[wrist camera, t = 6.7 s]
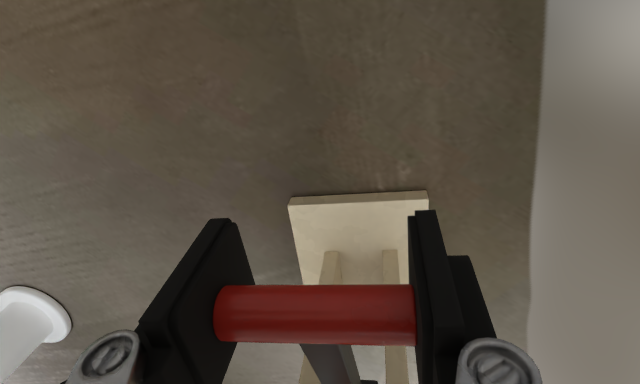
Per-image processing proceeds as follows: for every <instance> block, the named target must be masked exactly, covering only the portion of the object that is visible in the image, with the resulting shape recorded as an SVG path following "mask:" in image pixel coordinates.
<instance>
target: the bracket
mask: <svg viewBox="0 0 640 384" xmlns="http://www.w3.org/2000/svg"><path fill="white" fill-rule="evenodd" d="M415 210H429V199H428V195H427V191H426V190H422V191H403V192H384V193H364V194H345V195H326V196H307V197H291V199H290V201H289V204H288V211H289V216H290V221H291V226H292V231H293V236H294V241H295V245H296V250H297V255H298V260H299V265H300V270H301V275H302V280H303V284H304V285H327V284H409V271H408V222H407V217H408V216H415ZM385 364H386V384H409V378H408V367H407V355H406V346H385ZM299 384H321V382H320V381H319V379H318V377H317V375H316V373H315V372H314V370H313V368H312V366H311V364H310V363H309V361H308V359H307V357H306V355H305V354H304V359H303V364H302V369H301V374H300V379H299Z"/></svg>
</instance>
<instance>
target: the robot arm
mask: <svg viewBox="0 0 640 384" xmlns="http://www.w3.org/2000/svg"><path fill="white" fill-rule="evenodd" d="M407 222H408V271H409V284H411V285H413V288H414V294H415V304H416V317H417V346H415V353H416V363H417V372H418V382H419V384H542V379H541V375H540V371H539V369H538V367H537V366H536V364H535V363H534V361H533V359H532V358H530V356H529V355H527V354H526V353H525V352H524V351H523V350H522V349H520V348H519V347H517V346H515V345H514V344H512V343H510V342H507V341H504V340H501V339H497V337H496V334H495V331H494V328H493V325H492V322H491V319H490V316H489V313H488V310H487V307H486V304H485V301H484V298H483V295H482V292H481V289H480V286H479V284H478V281H477V278H476V275H475V272H474V269H473V266H472V263H471V260H470V258H469V256H468V255H465V256H447V254H446V250H445V246H444V242H443V238H442V234H441V231H440V227H439V223H438V219H437V215H436V211H435V210H415V216H408V217H407ZM227 285H255V282H254V279H253V275H252V272H251V269H250V266H249V262H248V259H247V256H246V253H245V249H244V246H243V243H242V239H241V236H240V233H239V230H238V226H237V224H236V223H234V222H232V221H231V220H230V219H229V218H218V219H210V220H209V221H208V222H207V224H206V225H205V227H204V228H203V229H202V231H201V232H200V234H199V235H198V237H197V238H196V240H195V241H194V242H193V244H192V245H191V247H190V248H189V250H188V251H187V252H186V254H185V255H184V257H183V258H182V260H181V261H180V262H179V264H178V265H177V267H176V268H175V270H174V271H173V272H172V274H171V275H170V277H169V278H168V280H167V281H166V282H165V284H164V285H163V287H162V288H161V290H160V291H159V293H158V294H157V295H156V297H155V298H154V300H153V301H152V303H151V304H150V305H149V307H148V308H147V310H146V311H145V313H144V314H143V315H142V317H141V318H140V320H139V321H138V322H139V325H138V326H137V328H136V329H135V331H131V330H127V329H126V330H117V331H114V332H111V333H108V334H106V335H104V336H103V337H101V338H99V339H97V340H96V341H95V342H93V343H92V344H91V345H90V346H89V347H88V348H87V349H86V350H85V351H84V352H83V353H82V354H81V356H80V357H79V359H78V360H77V362H76V364H75V366H74V368H73V370H72V372H71V374H70V376H69V378H68V379H67V380H66V381H64V382H62V383H60V384H222V382H223V379H224V376H225V374H226V371H227V368H228V366H229V363H230V361H231V358H232V355H233V353H234V350H235V348H236V345H237V342H222V341H220V340H219V339H218V338H217V337H216V335H215V333H214V329H213V309H214V304H215V300H216V297H217V295H218V293H219V291H220V290H221V289H222V288H223V287H224V286H227Z"/></svg>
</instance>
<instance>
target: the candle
mask: <svg viewBox="0 0 640 384" xmlns="http://www.w3.org/2000/svg"><path fill="white" fill-rule="evenodd" d="M70 330H71V320H70V317H69V315H68V314H67V312H66V311H65V309H64V308H63V307H62V306H61V305H60V304H59V303H58V302H57V301H55V300H54V299H53V298H51V297H50V296H48V295H46V294H45V293H43V292H40V291H38V290H36V289H33V288H29V287H23V286H14V287H9V288H7V289H5V290H4V291H2V292H1V293H0V384H2V383H3V382H4V381H5V380H6V379H7V378H8V377H9V376H10V375H11V374H12V373H13V372H14V371H15V370H16V369H17V368H18V367H19V366H20V365H21V364H22V363H23V362H24V360H25V359H26V358H27V357H28V356H29V355H30V354H31V353H32V352H33V351H34V350H35V349H36V348H37V347H38V346H39V345H40V344H41V343H42V342H44V343H54V342H59V341H61V340H63V339H64V338H65V337H66V336H67V335H68V334H69V332H70Z"/></svg>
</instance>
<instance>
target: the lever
mask: <svg viewBox="0 0 640 384" xmlns="http://www.w3.org/2000/svg"><path fill="white" fill-rule="evenodd" d="M213 329H214V333H215V335H216V337H217V338H218V339H219V340H220V341H222V342H258V343H297V344H300V346H301V348H302V350H303V352H304V353H305V355H306V357H307V359H308V361H309V363H310V364H311V366H312V368H313V370H314V372H315V373H316V375H317V377H318V379H319V381H320V382H321V384H378V382H377V381H375V380H360V376H359V373H358V369H357V366H356V362H355V359H354V355H353V352H352V348H351V345H376V346H417V317H416V304H415V294H414V288H413V285H411V284H327V285H227V286H224V287H223V288H222V289H221V290H220V291H219V293H218V295H217V297H216V300H215V304H214V309H213Z"/></svg>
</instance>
